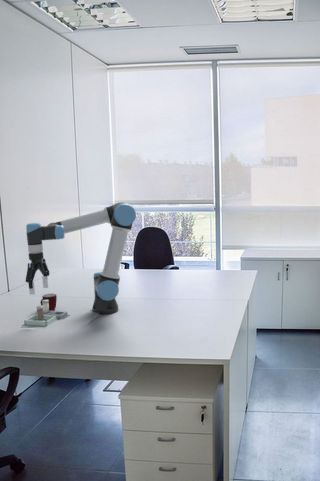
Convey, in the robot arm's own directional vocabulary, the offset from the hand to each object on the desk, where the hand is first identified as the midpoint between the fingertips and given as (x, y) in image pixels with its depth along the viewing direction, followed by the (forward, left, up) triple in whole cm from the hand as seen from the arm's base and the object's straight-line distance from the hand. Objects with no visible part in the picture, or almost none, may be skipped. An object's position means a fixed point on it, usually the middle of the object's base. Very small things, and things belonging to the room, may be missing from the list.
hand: (39, 291), depth 256 cm
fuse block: (-1, -11, -18) cm, 21 cm away
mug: (+8, -22, -19) cm, 30 cm away
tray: (0, 0, -18) cm, 18 cm away
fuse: (+3, -11, -17) cm, 21 cm away
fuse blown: (0, 0, -18) cm, 18 cm away
